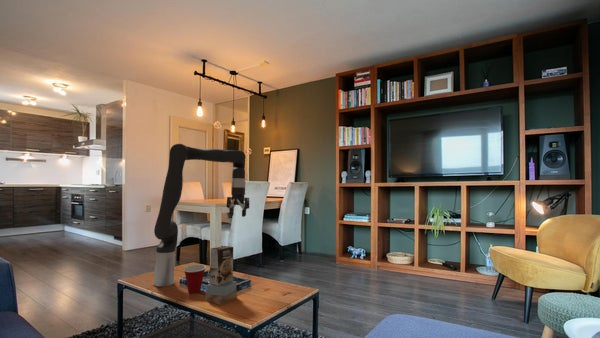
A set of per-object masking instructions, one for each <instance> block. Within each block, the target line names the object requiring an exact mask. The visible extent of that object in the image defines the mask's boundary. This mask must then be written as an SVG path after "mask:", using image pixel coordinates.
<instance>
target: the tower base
mask: <svg viewBox="0 0 600 338" xmlns="http://www.w3.org/2000/svg"><path fill="white" fill-rule="evenodd" d="M237 298H238V290H237V289H236V291H234V292H232V293H230V294H228V295H227V296H225V297H223V296H217V295H211V294H207V291H206V292H205V301H206V302H209V303H212V304H216V305H219V306H222V305H226V304H227V303H230V302H232V301H234V300H236V299H237Z"/></svg>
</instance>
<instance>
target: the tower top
mask: <svg viewBox="0 0 600 338" xmlns="http://www.w3.org/2000/svg"><path fill="white" fill-rule="evenodd" d="M236 290H237V281H236V280H235V281H234V280H233V281H232V282H229V283H225V284H222V285H219V286H217V285H213V284H210V283H208V284H207V285H206V292H207V294H211V295H217V296H223V297H225V296H227V295H228V294H230V293H232V292H234V291H236Z"/></svg>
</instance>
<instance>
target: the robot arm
mask: <svg viewBox="0 0 600 338" xmlns="http://www.w3.org/2000/svg"><path fill="white" fill-rule="evenodd" d="M246 158H247V157H246V153H245V152H244V151H242V150H237V149H236V150H235V149H231V150H230V149H229V150H228V149H221V148H220V149H219V148H197V147H196V148H195V147H191V146H188V145H185V144H183V143H175V144H173V145H172V146H171V147H170V149H169V157H168V169H167V172H166V175H165V176H166V177H165V180H164V184H163V185H164V186H163V188H162V189H163V190H162V196H161V202H160V207H159V212H158V215H157V219H156V221H155V224H154V225H155V226H154V231H153V232H154V236H155V238H156V239H158V240H160V242H159V244H158V245H157V246H156V249H155V251H156V253H155V266H154V270H153V272H154V275H153V278H154V279H153V285H154V286H155V287H159V288H160V287H161V288H163V287H169V286H173V285H174V283H175V267H176V266H175V265H176V263H175V262H176V247H177V244H178V237H179V236H178V235H179V234H178V233H179V229H178V228H179V227H178V224H177V223H176V221H174V220H172V217H173V214H174V211H175V210H176V208H177V206H178V205H179V202H180V200H181V196H182V192H183V183H184V182H183V181H184V178H183V171H184V167H185V164H186V163H185V162H186V161H191V160H193V161H194V160H195V161H196V160H197V161H206V162H215V163H232V170H231V171H232V173H231V174H232V175H231V176H232V177H231V185H230V186H231V187H230V188H231V190H230V191H231V192H230V194H231V196H227V198H226V208H228V209H229V216H231V217H232V216H234V208H235V207H236V206H239V207H240V208H241V217H243V218H244V217H246V216H247V210H248V209H250V197H245V196H246V169H245V168H246Z"/></svg>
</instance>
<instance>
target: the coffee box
mask: <svg viewBox="0 0 600 338" xmlns="http://www.w3.org/2000/svg"><path fill="white" fill-rule="evenodd" d="M209 251H210V254H209V255H210V258H209V282H208V284H213V285H217V286H219V285H222V284H225V283H229V282H232V281H234V280H233V279H234V277H233V276H234V246H227V245H223V246H218V247H211V248H210V250H209Z"/></svg>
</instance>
